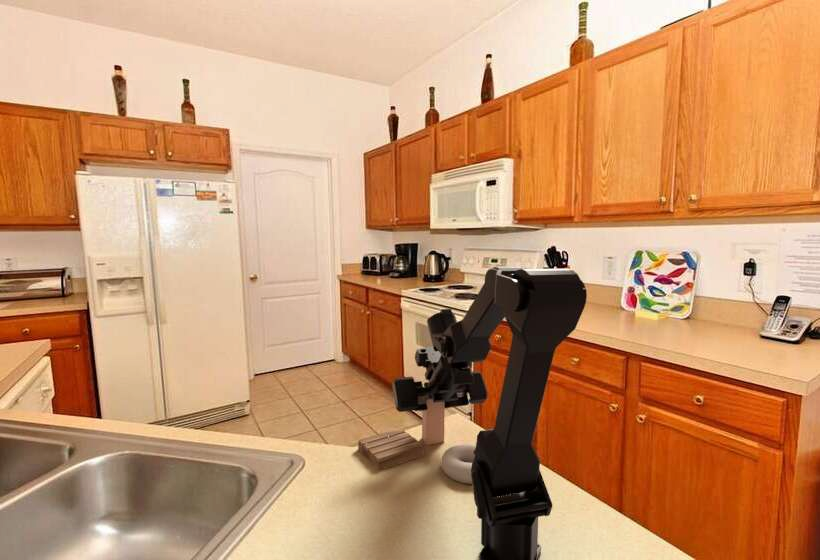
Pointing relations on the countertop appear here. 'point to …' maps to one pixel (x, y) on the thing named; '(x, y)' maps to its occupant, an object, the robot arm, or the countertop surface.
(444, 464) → the donut
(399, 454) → the stacked wooden slats
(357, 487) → the countertop surface
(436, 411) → the clay bar
